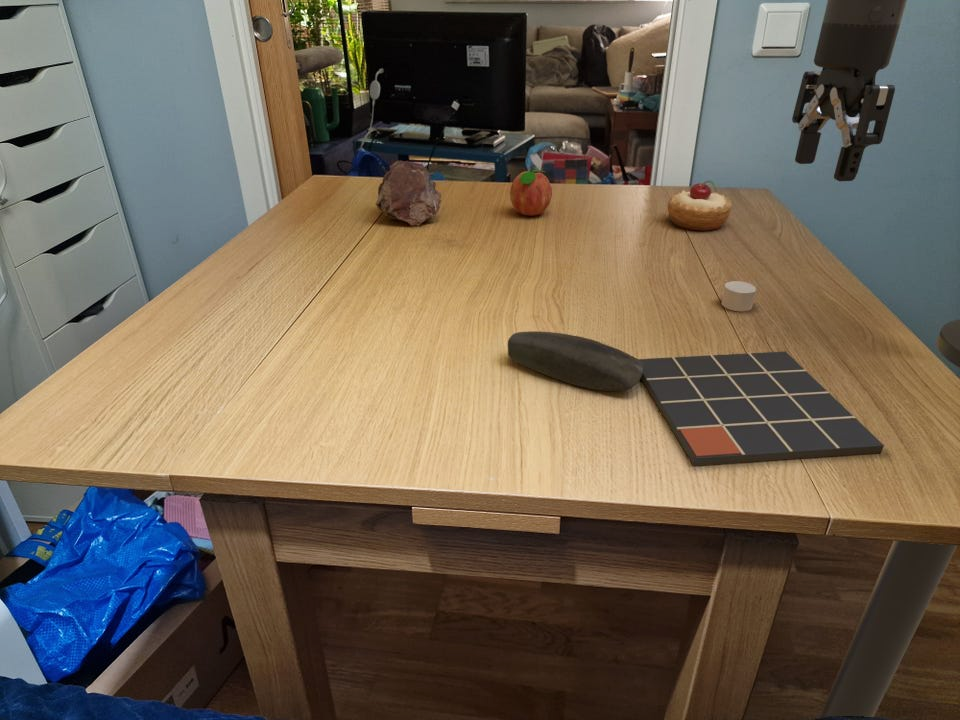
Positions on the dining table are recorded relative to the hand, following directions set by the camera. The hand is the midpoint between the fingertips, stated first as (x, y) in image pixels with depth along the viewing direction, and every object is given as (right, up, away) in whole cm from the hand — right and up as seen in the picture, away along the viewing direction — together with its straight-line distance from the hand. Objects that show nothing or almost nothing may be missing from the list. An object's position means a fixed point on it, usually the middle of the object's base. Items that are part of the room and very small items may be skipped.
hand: (822, 171), depth 79 cm
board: (-11, -28, -4) cm, 30 cm away
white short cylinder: (-3, -14, +20) cm, 25 cm away
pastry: (+2, +5, +54) cm, 54 cm away
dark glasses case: (-30, -24, +3) cm, 39 cm away
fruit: (-30, +8, +59) cm, 67 cm away
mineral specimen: (-55, +7, +58) cm, 81 cm away
